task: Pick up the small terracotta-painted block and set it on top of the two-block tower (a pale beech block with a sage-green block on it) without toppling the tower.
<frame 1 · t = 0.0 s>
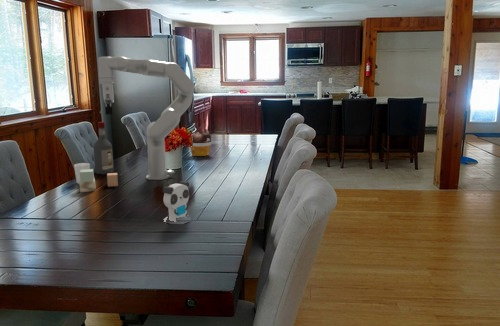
hand: (109, 113, 224), 37 cm above the table, tool pointing down, fingers open, 9 cm apart
bucket of meat: (200, 155, 306), on the table
beech base block: (87, 189, 213), on the table, touching sage top block
liquor: (104, 172, 250), on the table
sage top block: (87, 180, 212), point 5 cm above the table, touching beech base block
terracotta block: (112, 185, 222), on the table
white cup: (83, 182, 227), on the table
panda figurine: (177, 220, 168), on the table
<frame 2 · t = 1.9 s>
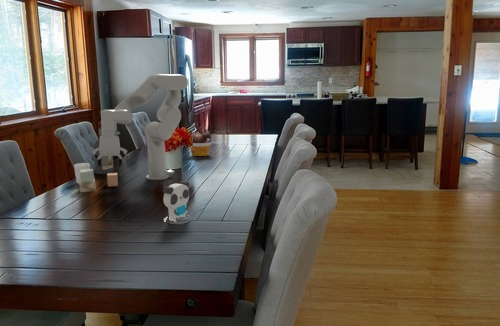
hand: (110, 166, 219), 10 cm above the table, tool pointing down, fingers open, 9 cm apart
nothing on the table moved.
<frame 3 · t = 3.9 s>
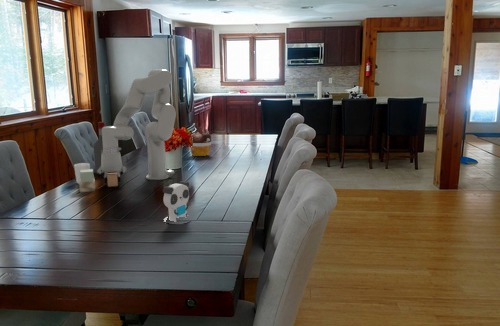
hand: (112, 183, 222), 1 cm above the table, tool pointing down, fingers closed on terracotta block, 5 cm apart
beech base block: (87, 190, 213), on the table
sage top block: (87, 180, 212), point 5 cm above the table
terracotta block: (112, 185, 222), on the table, touching gripper
everything else where it was.
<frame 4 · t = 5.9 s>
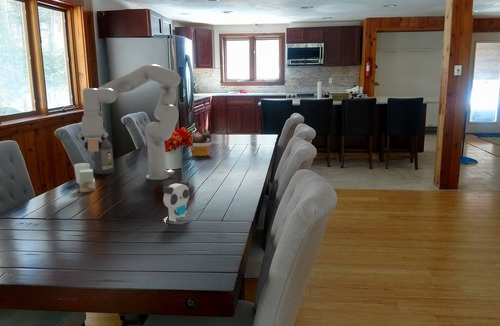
hand: (93, 149, 211), 20 cm above the table, tool pointing down, fingers closed on terracotta block, 5 cm apart
beech base block: (87, 189, 213), on the table, touching sage top block
sage top block: (87, 180, 212), point 5 cm above the table, touching beech base block
terracotta block: (93, 150, 212), point 19 cm above the table, touching gripper
everything else where it was.
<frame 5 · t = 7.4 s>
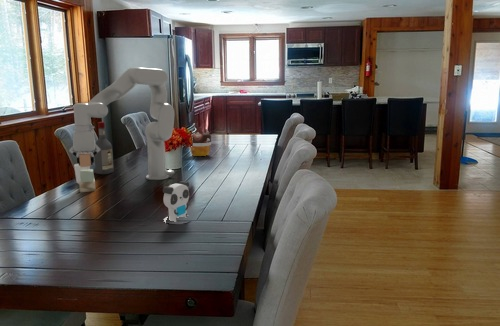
hand: (85, 164, 210), 13 cm above the table, tool pointing down, fingers closed on terracotta block, 5 cm apart
terracotta block: (85, 165, 210), point 12 cm above the table, touching gripper
everything else where it was.
when the fingers open (11 cm above the table, at t = 8.6 s): terracotta block stays where it is, resting on sage top block.
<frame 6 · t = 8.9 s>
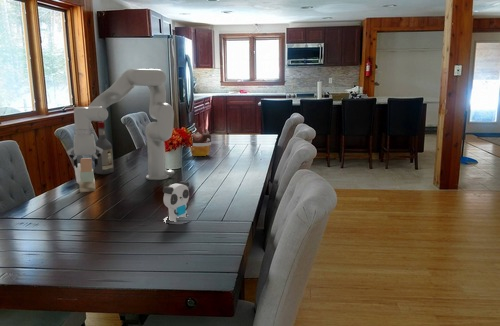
hand: (86, 166, 210), 12 cm above the table, tool pointing down, fingers open, 8 cm apart
sage top block: (87, 180, 212), point 5 cm above the table, touching beech base block, terracotta block
terracotta block: (86, 170, 211), point 10 cm above the table, touching sage top block
everything else where it was.
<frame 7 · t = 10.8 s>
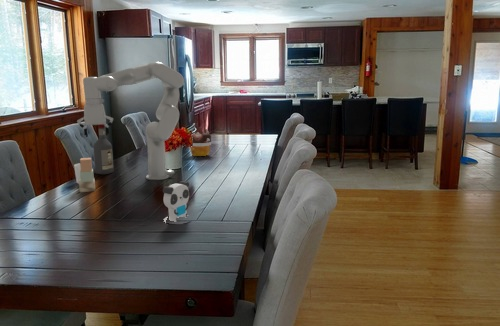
hand: (97, 135, 214), 26 cm above the table, tool pointing down, fingers open, 9 cm apart
nothing on the table moved.
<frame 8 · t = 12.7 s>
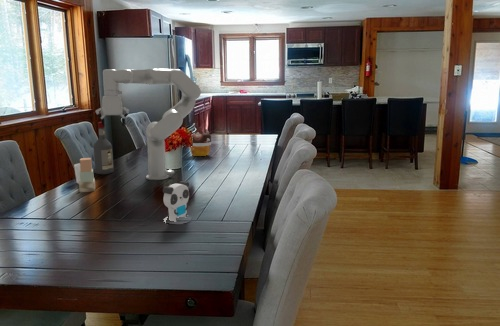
hand: (113, 126, 224), 30 cm above the table, tool pointing down, fingers open, 9 cm apart
beech base block: (87, 189, 212), on the table
sage top block: (87, 180, 211), point 5 cm above the table, touching terracotta block
everything else where it was.
at the end: terracotta block 0.1 cm off-centre on the sage top block, point 5.0 cm above the sage top block's base; sage top block tilted 0°; beech base block moved 0.2 cm from its start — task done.
